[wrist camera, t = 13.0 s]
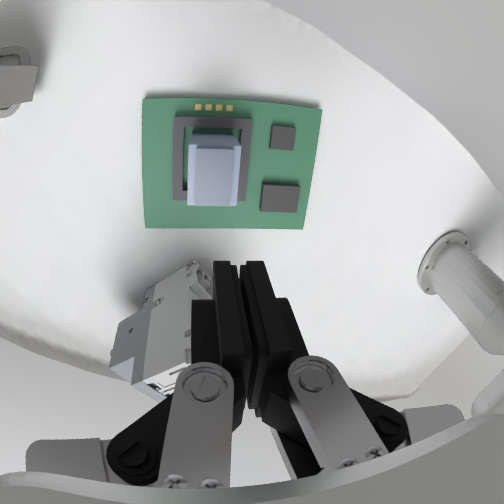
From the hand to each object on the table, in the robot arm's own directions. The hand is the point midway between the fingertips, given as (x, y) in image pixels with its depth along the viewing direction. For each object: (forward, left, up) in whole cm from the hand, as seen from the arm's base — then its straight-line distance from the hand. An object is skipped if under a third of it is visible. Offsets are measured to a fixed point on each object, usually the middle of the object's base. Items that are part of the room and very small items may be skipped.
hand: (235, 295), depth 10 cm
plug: (0, 0, -21) cm, 21 cm away
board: (-2, +1, -23) cm, 23 cm away
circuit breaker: (+5, +20, -23) cm, 31 cm away
